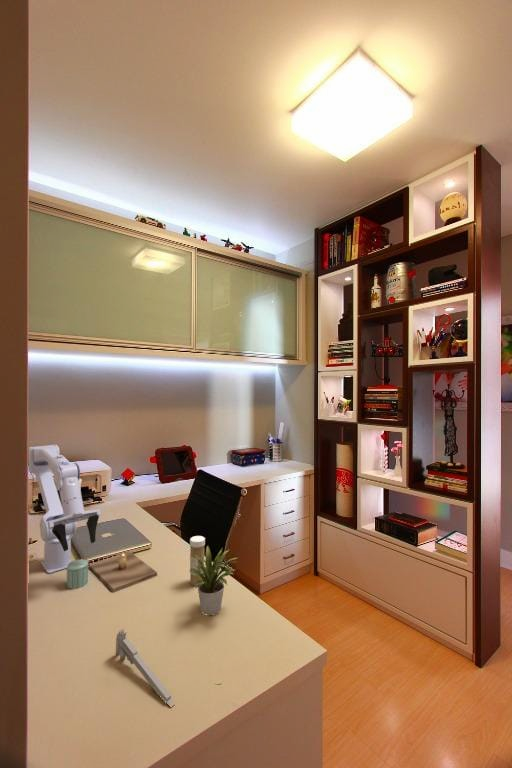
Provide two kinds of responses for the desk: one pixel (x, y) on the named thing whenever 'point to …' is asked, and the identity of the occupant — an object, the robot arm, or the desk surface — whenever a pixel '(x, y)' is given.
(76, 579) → the cap
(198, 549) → the sprinkles bottle
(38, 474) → the robot arm
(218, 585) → the house plant
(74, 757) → the desk surface
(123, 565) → the tan cylinder
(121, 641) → the caliper
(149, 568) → the walnut board
